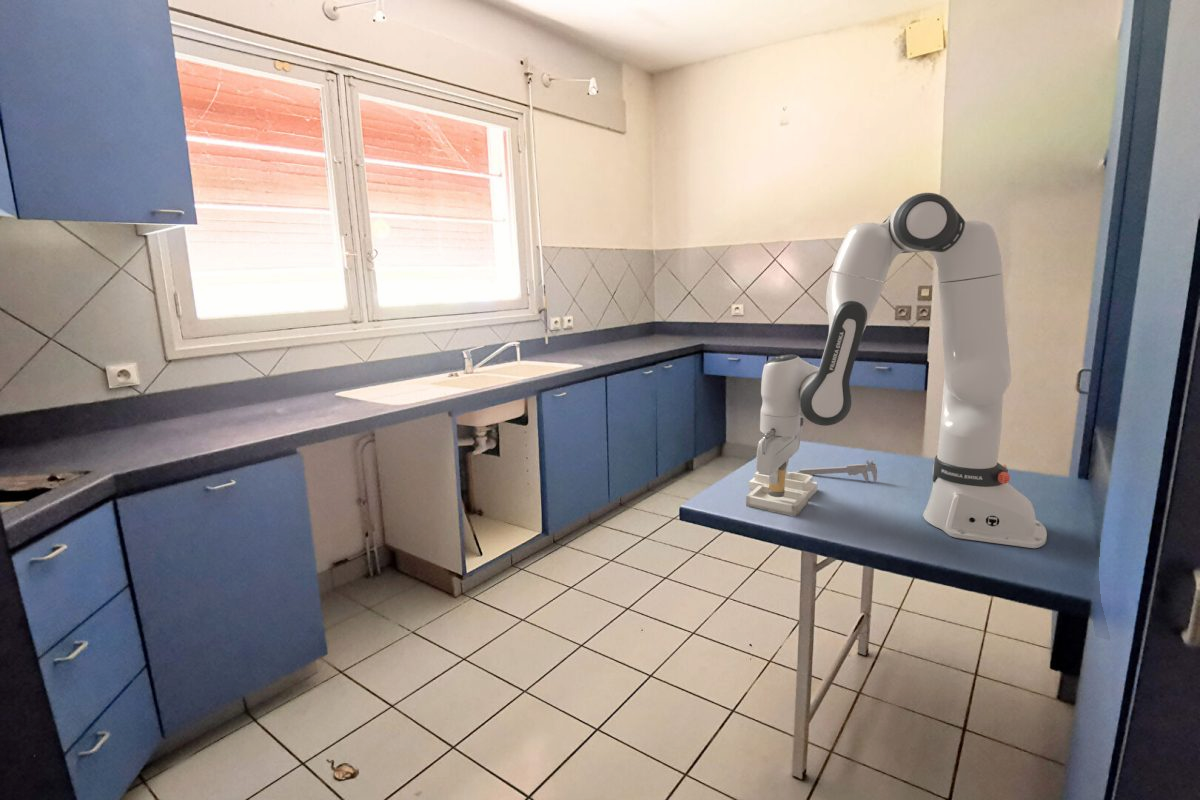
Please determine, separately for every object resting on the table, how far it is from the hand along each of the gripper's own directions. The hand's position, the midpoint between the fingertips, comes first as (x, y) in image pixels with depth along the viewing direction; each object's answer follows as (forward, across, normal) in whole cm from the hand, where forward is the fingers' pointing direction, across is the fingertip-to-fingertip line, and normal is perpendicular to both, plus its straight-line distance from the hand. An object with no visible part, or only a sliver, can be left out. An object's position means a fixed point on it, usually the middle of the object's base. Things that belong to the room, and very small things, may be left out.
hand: (777, 480), depth 143 cm
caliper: (+7, +25, -7) cm, 27 cm away
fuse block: (+6, +10, +2) cm, 12 cm away
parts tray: (+6, 0, 0) cm, 6 cm away
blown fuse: (+4, 0, 0) cm, 4 cm away
